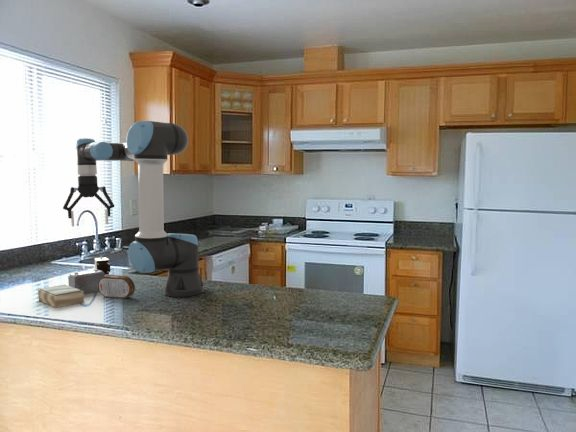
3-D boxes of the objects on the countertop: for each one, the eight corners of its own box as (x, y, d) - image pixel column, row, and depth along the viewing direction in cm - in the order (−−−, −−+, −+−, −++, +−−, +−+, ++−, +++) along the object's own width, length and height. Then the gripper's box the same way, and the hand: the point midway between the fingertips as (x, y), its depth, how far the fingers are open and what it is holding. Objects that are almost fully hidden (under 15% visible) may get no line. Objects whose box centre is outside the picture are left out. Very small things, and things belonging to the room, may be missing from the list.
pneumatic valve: (98, 287, 200) (96, 258, 199) (95, 282, 210) (94, 255, 209) (112, 285, 202) (110, 257, 201) (108, 280, 213) (107, 254, 212)
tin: (135, 297, 181) (134, 275, 181) (130, 299, 178) (129, 277, 178) (102, 295, 186) (101, 274, 185) (96, 297, 183) (95, 275, 182)
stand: (83, 301, 176) (83, 290, 176) (55, 307, 169) (54, 295, 169) (66, 295, 187) (65, 284, 187) (38, 300, 180) (38, 288, 180)
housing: (105, 290, 194) (104, 269, 194) (75, 296, 186) (74, 274, 185) (98, 288, 199) (97, 267, 198) (69, 293, 190) (67, 272, 189)
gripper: (116, 175, 214) (119, 222, 216) (54, 176, 202) (57, 226, 204) (119, 174, 207) (122, 223, 209) (55, 175, 195) (58, 227, 197)
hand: (90, 225), depth 206 cm, fingers open, 13 cm apart
